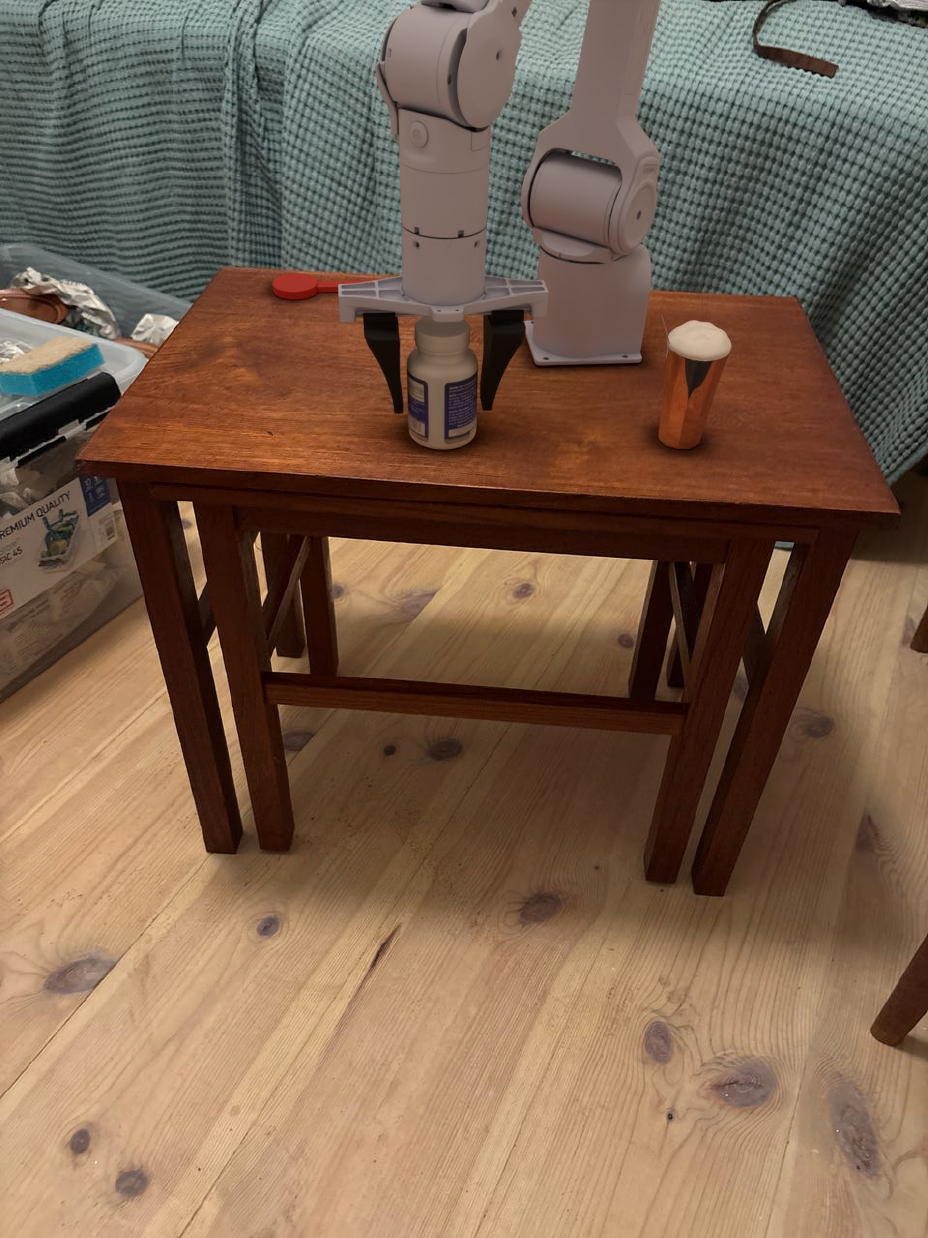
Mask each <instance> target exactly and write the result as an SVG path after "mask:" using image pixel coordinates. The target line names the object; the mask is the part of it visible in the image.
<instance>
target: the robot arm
mask: <svg viewBox="0 0 928 1238" xmlns="http://www.w3.org/2000/svg"><path fill="white" fill-rule="evenodd" d="M532 2H533V0H420V2H417V3H412V4H410V5H409V8H405V9H403V10H402V11H401V13H399V14H397V15H396V16H395V17H393V19H392V20H391V21H390V23H389V24H388V27H387V28H386V30H385V33H384V35H383V39H382V42H381V46H380V55H379V61H378V62H376V63H375V65H374V70H375V78H376V83H377V87H378V90H379V93H380V95H381V97H382V99H383V101H384V103H385V104H386V106H387V109H388V112H389V118H390V119H389V120H390V135H392V136H393V140H394V141H395V142H396V143H397V144H398V152H399V155H398V156H399V198H400V202H399V203H400V237H401V238H400V239H401V240H400V242H401V243H400V244H401V275H397V276H392V277H386V278H381V279H380V278H379V279H373V280H374V281H368V282H361V283H353V284H339V285H338V292H337V293H338V294H337V296H338V297H337V298H338V311H339V322H340V323H355V322H356V321H357V319H362V326H363V337H364V339H365V342H366V344H367V347H368V348H369V350H370V351H371V353H372V355H373V357H374V358H375V360H376V362H377V364H378V365H379V367H380V369H381V372H382V374H383V376H384V378H385V381H386V384H387V387H388V390H389V393H390V397H391V401H392V406H393V413H394V414H395V415H400V414H401V415H402V414H403V415H404V414H405V413H404V411H405V410H404V407H405V406H404V396H403V386H402V378H401V338H400V324H399V318H405V317H406V318H408V317H409V318H410V317H424V316H430V317H432V319H433V320H434V321H436V322H460V321H462V320H463V318H464V316H482V320H483V321H482V322H483V323H482V326H483V327H482V328H483V329H482V331H483V334H482V335H483V336H482V337H483V339H482V340H483V341H482V342H483V345H482V350H483V351H482V361H481V371H480V378H479V379H480V380H479V399H480V405H481V409H482V412H491V411H492V410H493V406H494V401H495V398H496V395H497V391H498V388H499V386H500V383H501V381H502V378H503V376H504V373H505V372H506V369H507V367H508V366H509V364H510V362H511V361H512V358H513V357H514V356H515V355H516V353H517V351H518V350H519V348H520V347H521V346H522V344H523V342H524V340H525V339H526V342H527V345H528V347H529V350H530V354H531V356H532V359H533V362H534V364H535V365H537V366H568V365H569V366H572V365H573V366H574V365H604V364H605V365H607V364H608V365H609V364H638V363H641V362H642V358H643V357H642V354H641V349H642V343H643V337H644V331H645V326H646V320H647V313H648V307H649V302H650V297H651V288H652V261H651V256H650V255H651V254H650V253H649V249H648V248H647V246H646V245H644V244H642V243H643V242H644V240H645V238H646V237H647V235H648V233H649V231H650V229H651V226H652V224H653V222H654V217H655V215H656V210H657V202H658V191H657V186H658V177H659V172H660V171H659V170H660V165H661V163H660V162H661V158H662V155H661V153H660V152H659V150H658V148H656V146H655V145H654V143H653V142H652V141H651V139H650V138H649V137H648V135H647V134H646V132H645V131H644V130H643V128H642V127H641V125H640V124H639V122H638V120H637V118H636V115H637V111H638V107H639V103H640V99H641V94H642V88H643V85H644V81H645V75H646V70H647V66H648V62H649V57H650V53H651V48H652V43H653V39H654V35H655V30H656V25H657V21H658V16H659V12H660V7H661V2H662V0H589V5H588V8H587V9H588V10H587V16H586V21H585V25H584V32H583V37H582V42H581V47H580V52H579V53H580V54H579V59H578V63H577V64H578V65H577V69H576V75H575V80H574V85H573V92H572V96H571V101H570V102H571V103H570V107H569V110H568V111H566V113H564V114H563V115H562V116H560V117H559V118H557V119H556V120H555V121H553V122H552V123H550V124H549V125H547V126H546V127H545V128H543V129H542V130H540V132H539V133H538V136H537V141H536V145H535V149H534V153H533V157H532V160H531V162H530V165H529V166H528V169H527V171H526V173H525V175H524V179H523V182H522V186H521V192H520V207H521V212H522V217H523V220H524V222H525V224H526V226H527V227H528V228H529V229H532V231H533V232H532V242H533V243H535V244H538V245H539V253H538V263H537V275H536V276H537V277H536V279H521V278H512V277H504V276H497V275H488V274H486V265H487V264H486V262H487V260H486V259H487V240H488V239H487V237H488V235H487V234H488V217H489V216H488V214H489V213H488V212H489V192H490V191H489V190H490V189H489V188H490V166H491V165H490V164H491V163H490V162H491V137H492V123H494V122H495V120H497V118H498V117H499V116H500V114H501V112H502V111H503V109H504V107H505V106H506V104H507V103H508V101H509V99H510V97H511V94H512V90H513V85H514V82H515V81H514V80H515V74H516V62H517V57H518V54H519V50H520V49H521V47H522V43H521V42H522V40H523V34H522V32H521V30H520V27H521V25H522V23H523V21H524V19H525V17H526V14H527V13H528V10H529V9H530V7H531V5H532ZM575 152H576V153H579V154H584V155H588V156H592V157H596V158H600V159H603V160H608V161H610V162H612V163H608V162H604V161H599V160H595V159H591V158H589V157H588V158H587V157H583V156H580V155H576V154H573V153H575ZM613 163H614V164H613ZM525 315H530V317H531V318H533V320H532V319H530V320H529V319H527V320H525ZM464 319H465V318H464Z"/></svg>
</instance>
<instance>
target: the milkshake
mask: <svg viewBox="0 0 928 1238" xmlns="http://www.w3.org/2000/svg"><path fill="white" fill-rule="evenodd" d="M661 319H662V325H663V326H664V327H663V328H664V331H665V335H666V353H665V362H664V363H665V365H664V381H663V391H662V392H663V394H662V401H661V410H660V419H659V426H658V434H657V435H658V436H657V438H658V440H659V441H660V442H661V443H662V444H663V445H664V446H666V447H669V448H672V449H675V450H690V449H691V450H692V448H694V447H696V446H698V445H700V441H701V439H702V435H703V432H704V429H705V426H706V423H707V420H708V416H709V414H710V411H711V408H712V405H713V401H714V399H715V395H716V391H717V389H718V386H719V384H720V382H721V381H720V380H721V378H722V375H723V373H724V370H725V366H726V364H727V361H728V358H729V356H730V352H731V349H732V342H731V340H730V338H729V336H728V334H727V333H726V331H725V330H723V329H722V328H719V327H717V326H716V325H714V324H713V323H711V322H708V321H699V320H695V319H694V320H693V319H692V320H689V321H687V322H685V323H683V324H681V325H679V326H677V327H674V329H672V330H671V331H670V332H669V333H668V331H667V330H668V329H667V326H666V323H665V320H664V317H663V316H661Z"/></svg>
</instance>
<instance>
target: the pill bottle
mask: <svg viewBox="0 0 928 1238" xmlns="http://www.w3.org/2000/svg"><path fill="white" fill-rule="evenodd" d="M413 339H414V344H415V347H414V348H413V349H412V350H411V351H410V352H409V354H408V356H407V359H406V390H407V392H406V396H407V397H406V398H407V423H408V424H407V425H408V433H409V436H410V437H411V439H412V440H413V441H414V442H416V443H417V444H419V445H420V446H423V447H426V448H429V449H433V450H452V449H453V450H454V449H458V448H461V447H464V446H465V445H467V444H468V443H470V442H471V441H472V440H473V439H474V437H475V436H476V432H477V421H478V418H477V415H478V386H479V383H478V381H479V361H478V357H477V354H476V353H475V352H474V351H473V349H472V348H470V345H471V326H470V323H469V321H468V320H467V319H465V318H463V320H462V321H460V322H436V321H434V320H433V319H432V317H430V316H421V317H420V318H419V319H417V320H416V321H415V324H414V338H413Z"/></svg>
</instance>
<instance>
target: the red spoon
mask: <svg viewBox="0 0 928 1238" xmlns="http://www.w3.org/2000/svg"><path fill="white" fill-rule="evenodd" d="M374 280H375V279H362V280H361V279H358V280H357V279H354V280H353V279H352V280H351V279H350V280H349V279H347V280H318V278H317V277H315V276H313V275H310V274H307V273H300V272H299V273H298V272H293V273H286V274H282V275H280V276H277V277H276V278H274V279H273V281H272V292H273V293H274V295H275V296H277V297H278V298H281V299H285V300H304V299H308V298H311V297H313V296H315V295H317V294H319V293H338V285H339V284H353V283H361V282H368V281H374Z"/></svg>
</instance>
